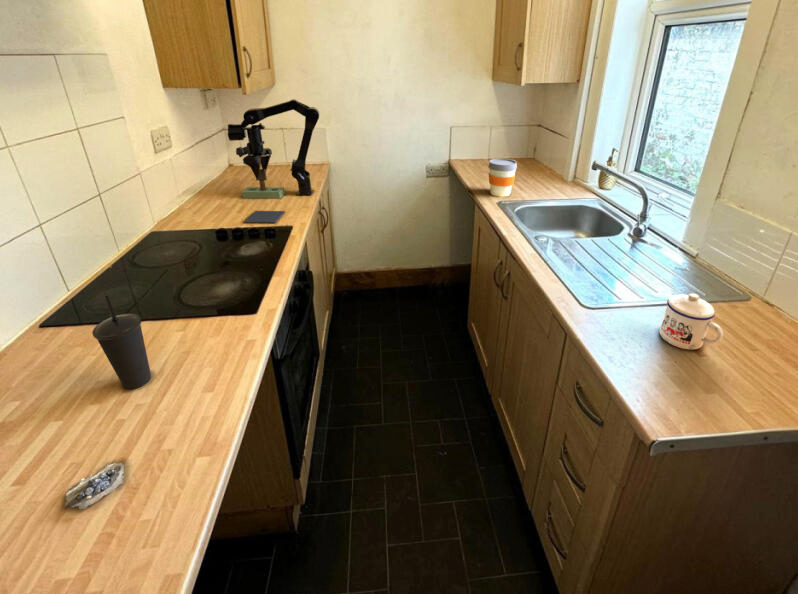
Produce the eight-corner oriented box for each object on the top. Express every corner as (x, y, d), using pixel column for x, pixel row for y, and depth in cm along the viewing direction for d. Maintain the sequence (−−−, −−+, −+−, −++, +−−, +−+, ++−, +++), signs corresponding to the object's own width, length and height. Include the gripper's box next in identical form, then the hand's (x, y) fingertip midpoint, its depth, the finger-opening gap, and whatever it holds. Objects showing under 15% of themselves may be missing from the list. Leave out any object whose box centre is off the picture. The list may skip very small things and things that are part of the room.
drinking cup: (110, 400, 79) (74, 312, 71) (118, 374, 85) (86, 290, 77) (156, 388, 82) (127, 302, 74) (161, 363, 88) (134, 282, 80)
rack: (248, 193, 194) (247, 187, 192) (284, 193, 193) (284, 187, 192) (242, 198, 187) (241, 191, 186) (280, 198, 187) (279, 192, 186)
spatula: (260, 195, 191) (256, 168, 186) (269, 195, 191) (265, 168, 186) (258, 196, 189) (254, 169, 184) (268, 196, 189) (263, 169, 184)
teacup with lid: (649, 333, 98) (662, 291, 93) (672, 322, 102) (685, 280, 97) (703, 364, 88) (720, 318, 83) (725, 349, 92) (742, 305, 88)
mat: (255, 212, 171) (255, 210, 171) (284, 212, 171) (284, 211, 171) (244, 223, 160) (243, 221, 160) (275, 223, 160) (274, 221, 160)
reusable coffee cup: (519, 194, 192) (523, 162, 186) (500, 199, 186) (503, 166, 180) (500, 187, 202) (502, 157, 195) (481, 192, 195) (483, 160, 189)
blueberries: (54, 506, 61) (49, 498, 60) (102, 458, 68) (98, 450, 67) (92, 516, 59) (88, 508, 58) (137, 466, 66) (134, 458, 66)
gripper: (245, 135, 188) (251, 169, 195) (227, 144, 171) (234, 180, 178) (269, 135, 188) (274, 169, 195) (254, 144, 171) (260, 180, 178)
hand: (261, 174), depth 186 cm, fingers open, 9 cm apart
